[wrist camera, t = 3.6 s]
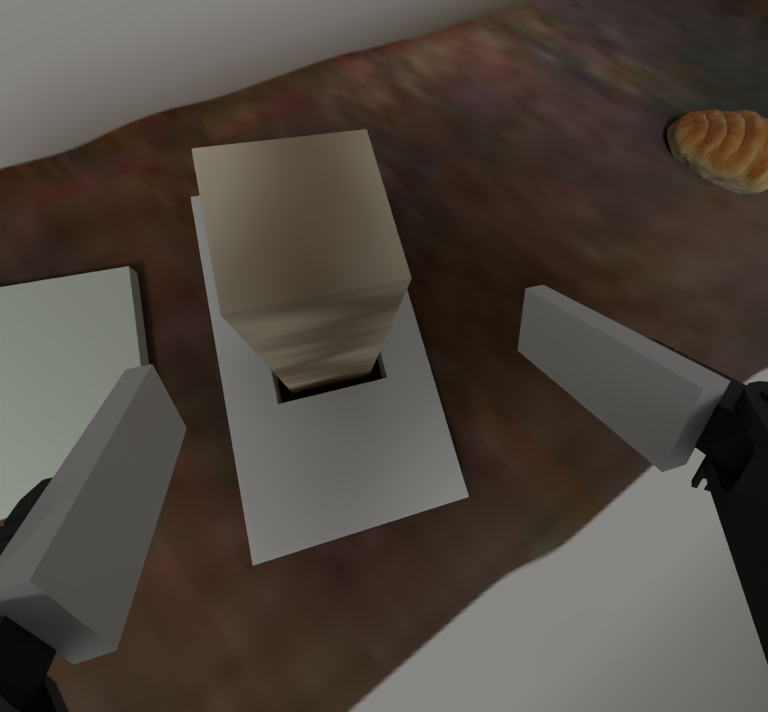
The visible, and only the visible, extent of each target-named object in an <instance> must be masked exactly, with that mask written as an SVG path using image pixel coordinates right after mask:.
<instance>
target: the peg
mask: <svg viewBox="0 0 768 712" xmlns="http://www.w3.org/2000/svg"><path fill="white" fill-rule="evenodd" d="M192 154H193V160H194V165H195V171H196V177H197V183H198V188H199V194H200V200H201V205H202V211H203V217H204V223H205V228H206V234H207V240H208V245H209V251H210V257H211V263H212V268H213V274H214V280H215V285H216V291H217V297H218V303H219V308H220V314H221V316H222V317H223V318H224V319H225V320H226V322H227V323H228V324H229V325H230V326H231V327H232V328H233V329H234V330H235V331H236V332H237V333H238V334H239V336H240V337H241V338H242V339H243V340H244V341H245V342H246V343H247V344H248V345H249V346H250V347H251V348H252V350H253V351H254V352H255V353H256V354H257V355H258V356H259V357H260V358H261V359H262V360H263V361H264V362H265V364H266V365H267V366H268V367H269V368H270V369H271V370H272V371H273V372H274V373H275V374H276V375H277V377H278V378H279V379H280V380H281V381H282V382H283V383H284V384H285V385H286V386H287V387H288V388H289V389H290V391H291V392H292V393H296V392H300V391H304V390H308V389H313V388H317V387H321V386H325V385H329V384H334V383H338V382H342V381H346V380H350V379H354V378H359V377H363V376H367V375H370V373H371V370H372V368H373V366H374V363H375V361H376V359H377V357H378V354H379V352H380V350H381V347H382V345H383V343H384V341H385V338H386V336H387V334H388V331H389V329H390V327H391V325H392V322H393V320H394V318H395V315H396V313H397V311H398V308H399V306H400V304H401V302H402V299H403V297H404V295H405V292H406V290H407V288H408V286H409V283H410V281H411V279H412V278H411V275H410V271H409V268H408V265H407V262H406V258H405V255H404V252H403V248H402V245H401V242H400V238H399V235H398V232H397V228H396V225H395V222H394V218H393V215H392V212H391V208H390V205H389V202H388V199H387V195H386V192H385V189H384V185H383V182H382V179H381V175H380V172H379V169H378V165H377V162H376V159H375V155H374V152H373V149H372V145H371V142H370V139H369V136H368V132H367V129H364V130H355V131H346V132H337V133H328V134H319V135H310V136H301V137H292V138H283V139H274V140H265V141H256V142H247V143H238V144H229V145H220V146H211V147H202V148H193V149H192Z"/></svg>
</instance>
